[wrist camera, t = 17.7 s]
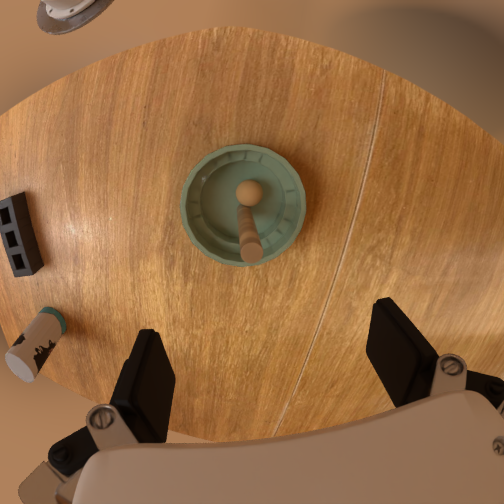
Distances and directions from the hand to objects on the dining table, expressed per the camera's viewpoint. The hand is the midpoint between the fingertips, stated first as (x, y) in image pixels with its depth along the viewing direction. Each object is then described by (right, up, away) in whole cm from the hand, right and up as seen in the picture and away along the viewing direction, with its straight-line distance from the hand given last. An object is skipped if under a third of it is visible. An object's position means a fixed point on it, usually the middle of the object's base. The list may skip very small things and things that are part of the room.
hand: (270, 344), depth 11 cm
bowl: (-2, +11, +28) cm, 30 cm away
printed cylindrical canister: (-41, -10, +34) cm, 54 cm away
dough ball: (-1, +12, +25) cm, 28 cm away
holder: (-42, +7, +26) cm, 50 cm away
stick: (-2, +10, +28) cm, 30 cm away
